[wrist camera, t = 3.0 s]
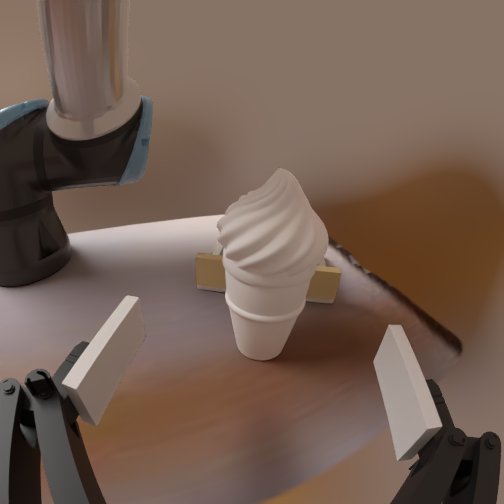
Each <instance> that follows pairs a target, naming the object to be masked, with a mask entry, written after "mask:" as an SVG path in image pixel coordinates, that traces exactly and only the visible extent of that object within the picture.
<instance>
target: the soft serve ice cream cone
mask: <svg viewBox="0 0 504 504" xmlns="http://www.w3.org/2000/svg"><path fill="white" fill-rule="evenodd" d="M217 228H218V229H219V231H220V232H221V233H220V234H219V236H218V242H219V243H220V244H221V245H222V246H223V247H224V249H223V259H222V262H223V266H224V268H225V279H226V289H227V290H226V293H225V299H226V302H227V304H228V306H229V309H230V314H231V319H232V324H233V329H234V334H235V338H236V343H237V347H238V349H239V351H240V352H241V353H242V354H243V355H245V356H246V357H248V358H251V359H254V360H269V359H272V358H274V357H276V356H278V355H279V354H280V353H281V351H282V349H283V347H284V345H285V343H286V341H287V339H288V337H289V335H290V332H291V330H292V328H293V326H294V324H295V322H296V319H297V317H298V315H299V314H300V313H301V312H302V310H303V309H304V306H305V297H306V294H307V291H308V288H309V284H310V280H311V278H312V276H313V275H314V273H315V271H316V266H317V265H318V263H319V262H320V261H321V260H322V258H323V257H324V255H325V253H326V251H327V247H328V233H327V230H326V228H325V226H324V224H323V222H322V221H321V220H320V218H319V217H318V216H317V214H316V213H315V212H314V211H313V210H312V208H311V206H310V204H309V201H308V200H307V198H306V196H305V194H304V192H303V191H302V188H301V186H300V184H299V182H298V181H297V179H296V178H295V177H294V175H293V174H292V173H290V172H289V171H287V170H284V169H281V168H278V169H277V171H276V172H275V173H274V174H273V175H272V176H271V177H270V179H269V180H268V181H267V182H266V183H265V184H264V185H263V186H261V187H260V188H258V189H257V190H254V191H249V192H248V195H242V196H240V198H239V200H238V201H237V202H235V203H233V204H232V205H230V206H229V207H228V208H227V210H226V215H225V216H224V217H222V218H221V219H220V220H219V221H218V222H217Z"/></svg>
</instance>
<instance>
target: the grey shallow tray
mask: <svg viewBox="0 0 504 504" xmlns="http://www.w3.org/2000/svg"><path fill="white" fill-rule="evenodd" d="M223 249H224V247H223V246H222V245H221V244H220V243H219V242H218V243H217V245H216V247H215V249H214V251H213V253H212V254H204V253H198V255H197V256H196V285H197V289H203V290H211V291H218V292H226V290H227V289H226V279H225V268H224V266H223V262H222V259H223ZM340 276H341V271H340V268H334V267H326V264H325V260H324V257H323V258H322V260H321V261H320V262H319V263H318V265H317V266H316V271H315V273H314V275H313V276H312V278H311V280H310V284H309V288H308V291H307V294H306V297H305V301H310V302H321V303H333V301H334V300H335V297H336V293H337V289H338V285H339V281H340Z"/></svg>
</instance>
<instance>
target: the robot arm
mask: <svg viewBox="0 0 504 504" xmlns="http://www.w3.org/2000/svg"><path fill="white" fill-rule="evenodd" d="M130 2H131V0H36V3H37V12H38V20H39V28H40V35H41V41H42V47H43V53H44V58H45V63H46V68H47V73H48V77H49V82H50V86H51V90H52V94H53V99H52V100H51V102H50V104H49V102H48V100H46V99H37V100H31V101H27V102H24V103H19V104H16V105H13V106H10V107H7V108H5V109H2V110H0V285H1V286H19V285H25V284H29V283H32V282H35V281H38V280H41V279H43V278H45V277H47V276H49V275H51V274H53V273H54V272H56V271H58V270H59V269H60V268H62V267H63V266H64V265H65V264H66V263H67V262H68V260H69V259H70V257H71V247H70V241H69V238H68V235H67V233H66V231H65V229H64V227H63V225H62V223H61V221H60V219H59V217H58V215H57V212H56V210H55V208H54V204H53V197H52V191H57V190H65V189H74V188H85V187H98V186H112V185H113V186H118V185H120V184H125V183H133V182H137V181H138V180H140V179H141V178H142V177H143V175H144V173H145V169H146V165H147V159H148V151H149V140H150V134H151V126H152V114H153V102H152V100H151V99H150V98H148V97H144V96H141V92H140V88H139V86H138V85H137V83H136V82H135V81H134V80H132V79H131V78H130V77H128V36H129V35H128V34H129V16H130ZM145 337H146V335H145V330H144V324H143V318H142V312H141V306H140V300H139V297H134V296H128V295H126V297H125V298H124V299H123V300H122V302H121V303H120V304H119V306H118V307H117V308H116V309H115V311H114V312H113V313H112V315H111V316H110V317H109V318H108V320H107V321H106V322H105V324H104V325H103V326H102V328H101V329H100V330H99V332H98V333H97V334H96V336H95V337H94V338H93V340H92V341H91V342H90V343H88V342H85V341H83V342H81V343H80V344H78V345H77V346H75V347H74V349H73V350H72V351H71V353H70V355H68V357H67V358H66V359H65V361H64V362H63V363H62V365H61V366H60V367H59V369H58V370H57V371H56V373H55V374H54V376H53V377H52V378H51V376H50V374H49V373H48V372H47V371H46V370H43V369H35V370H33V371H31V372H30V373H28V374H27V376H26V378H25V382H24V383H25V385H26V387H23V386H21V385H20V384H19V382H18V381H17V380H16V379H14V378H7V379H5V380H3V381H2V382H1V383H0V504H42V503H41V480H40V459H41V456H42V461H43V465H44V469H45V473H46V477H47V481H48V485H49V488H50V492H51V495H52V498H53V501H54V504H106V502H105V500H104V497H103V495H102V493H101V490H100V488H99V485H98V483H97V480H96V478H95V475H94V472H93V470H92V467H91V464H90V461H89V458H88V456H87V453H86V449H85V446H84V443H83V440H82V437H81V433H80V430H79V426H78V423H77V421H76V419H77V417H78V415H80V417H81V419H82V420H83V421H84V422H86V423H89V424H91V425H94V426H98V424H99V422H100V420H101V418H102V416H103V414H104V412H105V410H106V408H107V406H108V404H109V402H110V401H111V399H112V397H113V395H114V393H115V391H116V389H117V387H118V386H119V384H120V382H121V380H122V378H123V376H124V375H125V373H126V371H127V369H128V367H129V365H130V364H131V362H132V360H133V358H134V357H135V355H136V353H137V351H138V349H139V348H140V346H141V344H142V342H143V341H144V339H145ZM373 363H374V367H375V370H376V374H377V378H378V381H379V385H380V389H381V392H382V396H383V400H384V404H385V408H386V412H387V416H388V421H389V425H390V429H391V434H392V438H393V443H394V448H395V453H396V457H397V461H402V460H408V459H412V458H413V457H414V456H415V455H416V454H417V453H418V455H419V460H417V461H416V462H415V463H414V464H413V465H412V466H411V467H410V468H409V470H411V469H412V468H413V469H412V470H411V472H410V474H409V476H408V477H407V479H406V480H405V482H404V484H403V485H402V487H401V488H400V490H399V491H398V493H397V494H396V496H395V498H394V499H393V500H392V502H391V503H390V504H441V503H442V504H496V501H497V493H498V485H499V475H500V460H501V442H500V439H499V437H498V436H497V435H496V434H495V433H493V432H486V433H484V434H483V435H482V436H481V437H480V438H474V437H467V436H466V435H465V433H464V432H463V431H462V430H461V429H458V428H455V426H454V424H453V421H452V418H451V416H450V413H449V411H448V408H447V406H446V403H445V401H444V398H443V397H442V393H441V391H440V388H439V386H438V385H437V384H436V383H435V382H434V381H433V380H432V379H430V380H425V378H424V376H423V373H422V371H421V369H420V366H419V364H418V361H417V359H416V357H415V354H414V352H413V350H412V348H411V345H410V343H409V341H408V339H407V337H406V334H405V332H404V330H403V328H402V326H401V325H388V328H387V330H386V333H385V335H384V338H383V340H382V343H381V345H380V347H379V350H378V352H377V354H376V357H375V359H374V361H373Z"/></svg>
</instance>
